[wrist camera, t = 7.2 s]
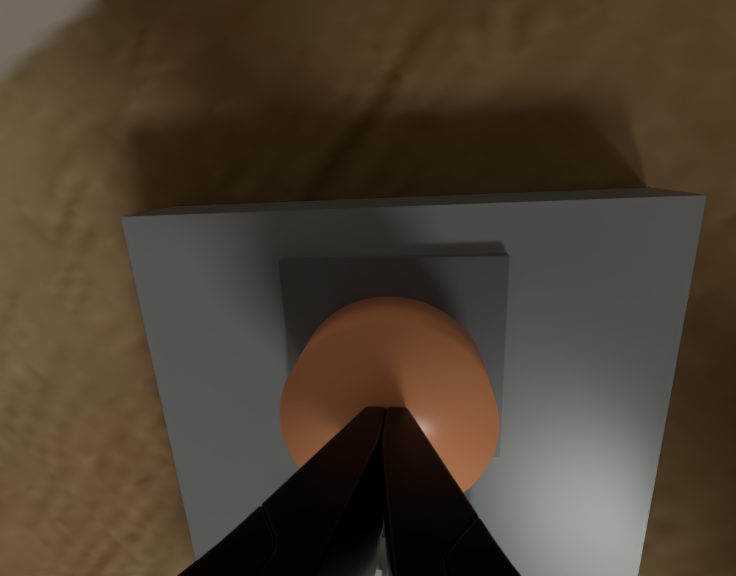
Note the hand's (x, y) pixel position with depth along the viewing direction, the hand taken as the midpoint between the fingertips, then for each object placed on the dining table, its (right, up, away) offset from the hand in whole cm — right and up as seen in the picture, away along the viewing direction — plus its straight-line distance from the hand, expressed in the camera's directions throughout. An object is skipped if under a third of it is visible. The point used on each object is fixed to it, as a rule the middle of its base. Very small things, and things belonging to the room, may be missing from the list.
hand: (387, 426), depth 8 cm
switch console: (+1, -5, +7) cm, 9 cm away
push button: (0, +1, +2) cm, 3 cm away
